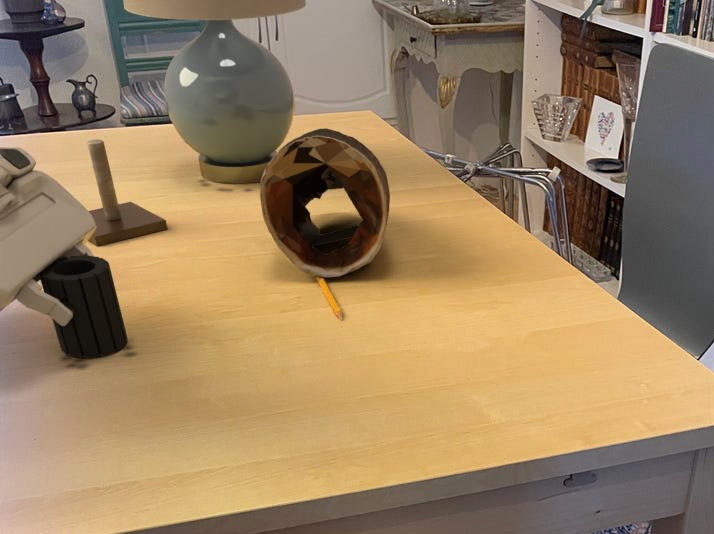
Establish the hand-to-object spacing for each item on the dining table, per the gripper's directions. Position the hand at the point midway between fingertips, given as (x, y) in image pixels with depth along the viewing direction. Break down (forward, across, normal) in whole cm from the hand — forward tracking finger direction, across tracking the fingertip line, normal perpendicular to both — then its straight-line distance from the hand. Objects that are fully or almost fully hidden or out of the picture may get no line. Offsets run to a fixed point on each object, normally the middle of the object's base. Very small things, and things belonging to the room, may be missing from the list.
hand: (89, 303), depth 96 cm
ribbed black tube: (+3, 0, +4) cm, 4 cm away
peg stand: (-6, +34, +13) cm, 37 cm away
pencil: (+18, +16, -11) cm, 27 cm away
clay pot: (+15, +33, -9) cm, 38 cm away
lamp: (0, +61, +7) cm, 62 cm away
